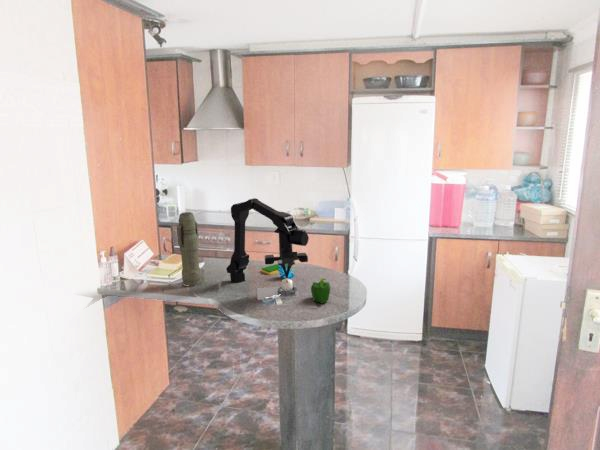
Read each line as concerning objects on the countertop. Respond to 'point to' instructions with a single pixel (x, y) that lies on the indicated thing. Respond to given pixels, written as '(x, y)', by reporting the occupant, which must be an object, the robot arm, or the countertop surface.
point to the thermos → (189, 249)
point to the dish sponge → (271, 269)
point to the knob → (287, 285)
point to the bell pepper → (320, 291)
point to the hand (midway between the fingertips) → (286, 277)
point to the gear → (286, 271)
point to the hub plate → (276, 292)
